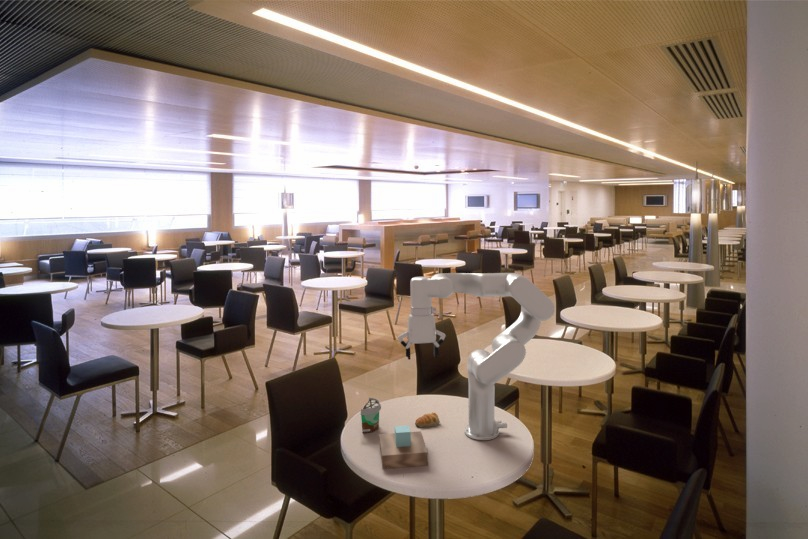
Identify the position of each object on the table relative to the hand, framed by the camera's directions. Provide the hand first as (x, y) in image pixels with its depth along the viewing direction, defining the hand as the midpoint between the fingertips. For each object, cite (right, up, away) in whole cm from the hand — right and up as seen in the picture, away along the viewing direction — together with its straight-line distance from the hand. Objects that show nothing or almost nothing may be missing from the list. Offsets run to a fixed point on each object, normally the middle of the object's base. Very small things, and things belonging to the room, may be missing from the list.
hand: (422, 357), depth 173 cm
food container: (-18, -30, +12) cm, 37 cm away
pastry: (+3, -29, +15) cm, 33 cm away
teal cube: (-7, -27, -10) cm, 30 cm away
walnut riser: (-7, -32, -9) cm, 34 cm away
